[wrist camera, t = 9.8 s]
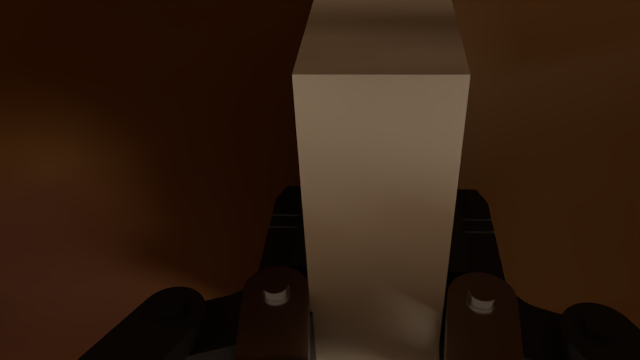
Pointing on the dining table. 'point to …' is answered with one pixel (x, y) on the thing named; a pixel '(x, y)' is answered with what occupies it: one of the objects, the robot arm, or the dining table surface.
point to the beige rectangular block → (379, 171)
